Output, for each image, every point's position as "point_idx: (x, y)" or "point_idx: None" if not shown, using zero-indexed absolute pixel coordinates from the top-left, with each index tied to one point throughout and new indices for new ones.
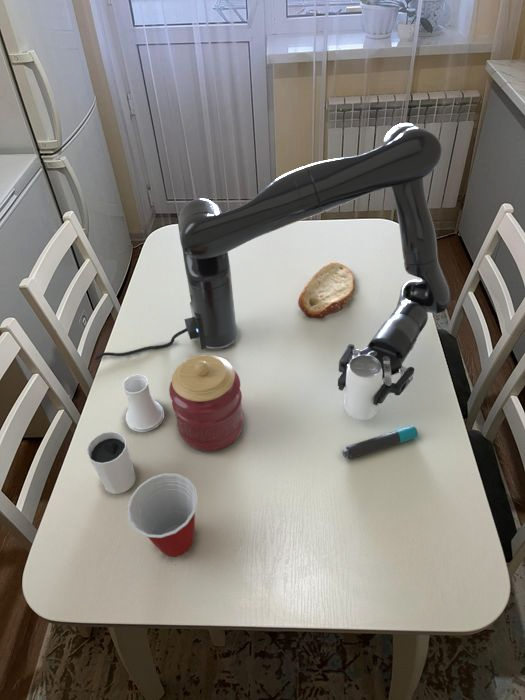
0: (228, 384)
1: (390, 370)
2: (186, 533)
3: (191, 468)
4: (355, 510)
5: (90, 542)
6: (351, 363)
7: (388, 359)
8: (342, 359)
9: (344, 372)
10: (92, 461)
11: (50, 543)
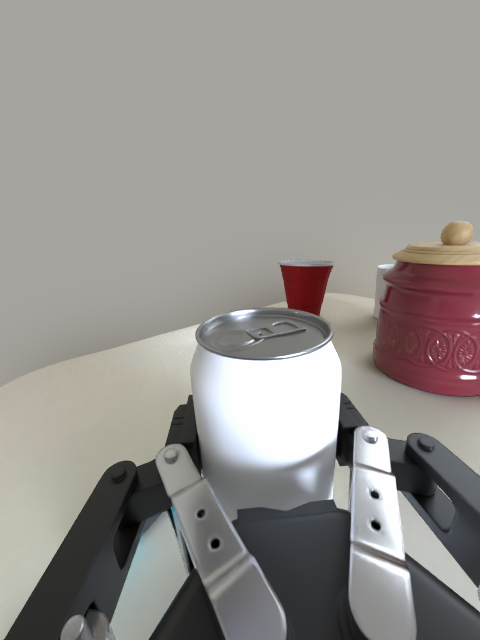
0: (410, 255)
1: (180, 517)
2: (284, 284)
3: (366, 339)
4: (179, 382)
5: (343, 303)
6: (317, 326)
7: (230, 616)
8: (444, 456)
9: (361, 424)
10: (387, 265)
11: (358, 298)
